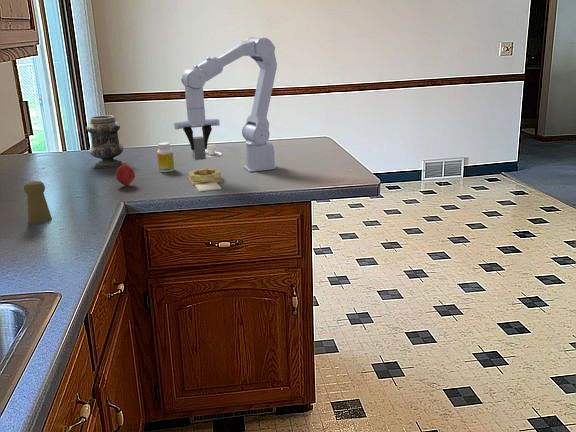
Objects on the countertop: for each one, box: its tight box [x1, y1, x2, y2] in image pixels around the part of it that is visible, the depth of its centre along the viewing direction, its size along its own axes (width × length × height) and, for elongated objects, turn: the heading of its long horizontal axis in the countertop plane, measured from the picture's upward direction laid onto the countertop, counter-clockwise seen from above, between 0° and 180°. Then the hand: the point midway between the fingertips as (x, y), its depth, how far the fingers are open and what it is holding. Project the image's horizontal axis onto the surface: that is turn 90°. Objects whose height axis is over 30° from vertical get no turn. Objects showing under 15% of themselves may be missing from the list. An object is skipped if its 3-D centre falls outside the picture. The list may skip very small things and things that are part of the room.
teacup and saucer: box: [205, 143, 223, 158], centre depth 233 cm, size 9×8×4 cm
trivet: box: [194, 182, 222, 193], centre depth 188 cm, size 7×7×1 cm
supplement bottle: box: [156, 141, 175, 173], centre depth 210 cm, size 5×5×10 cm
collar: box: [188, 168, 222, 182], centre depth 197 cm, size 10×10×2 cm
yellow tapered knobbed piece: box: [23, 180, 53, 226], centre depth 161 cm, size 6×6×11 cm
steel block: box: [192, 135, 207, 161], centre depth 197 cm, size 4×4×7 cm
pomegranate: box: [115, 161, 136, 187], centre depth 192 cm, size 6×6×8 cm
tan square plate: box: [187, 175, 224, 186], centre depth 197 cm, size 10×10×1 cm
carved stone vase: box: [86, 114, 124, 169], centre depth 220 cm, size 12×12×18 cm
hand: (199, 149), depth 196 cm, fingers closed on steel block, 3 cm apart
